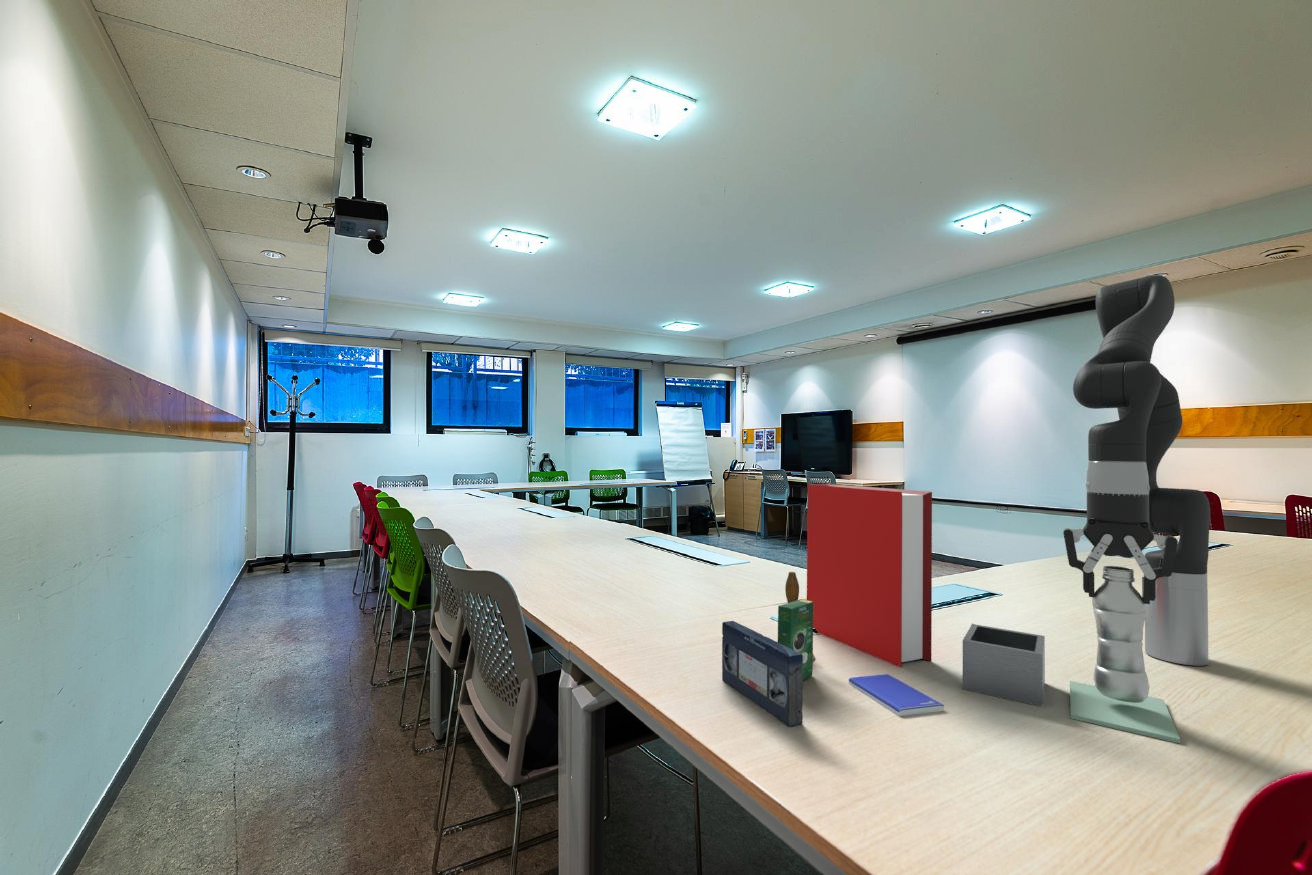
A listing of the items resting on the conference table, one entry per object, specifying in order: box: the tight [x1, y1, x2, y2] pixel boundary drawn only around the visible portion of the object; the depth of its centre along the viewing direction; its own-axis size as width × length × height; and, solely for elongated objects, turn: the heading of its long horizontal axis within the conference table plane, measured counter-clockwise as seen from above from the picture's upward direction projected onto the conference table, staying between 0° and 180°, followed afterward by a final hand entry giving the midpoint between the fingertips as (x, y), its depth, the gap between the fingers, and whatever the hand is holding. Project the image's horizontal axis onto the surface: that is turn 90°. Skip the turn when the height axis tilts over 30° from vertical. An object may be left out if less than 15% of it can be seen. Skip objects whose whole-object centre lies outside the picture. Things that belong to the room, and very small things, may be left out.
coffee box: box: [777, 598, 814, 681], centre depth 97 cm, size 8×3×13 cm, turn 137°
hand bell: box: [784, 571, 816, 661], centre depth 109 cm, size 8×8×16 cm
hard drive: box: [848, 673, 945, 717], centre depth 91 cm, size 2×8×12 cm
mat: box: [1069, 680, 1181, 744], centre depth 87 cm, size 16×12×1 cm
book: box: [806, 483, 933, 668], centre depth 118 cm, size 27×8×32 cm, turn 25°
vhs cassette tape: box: [721, 620, 804, 728], centre depth 88 cm, size 18×3×10 cm, turn 23°
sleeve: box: [962, 623, 1046, 708], centre depth 96 cm, size 12×11×8 cm
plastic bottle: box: [1091, 565, 1150, 703], centre depth 87 cm, size 6×7×20 cm
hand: (1117, 599), depth 88 cm, fingers closed on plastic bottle, 6 cm apart
